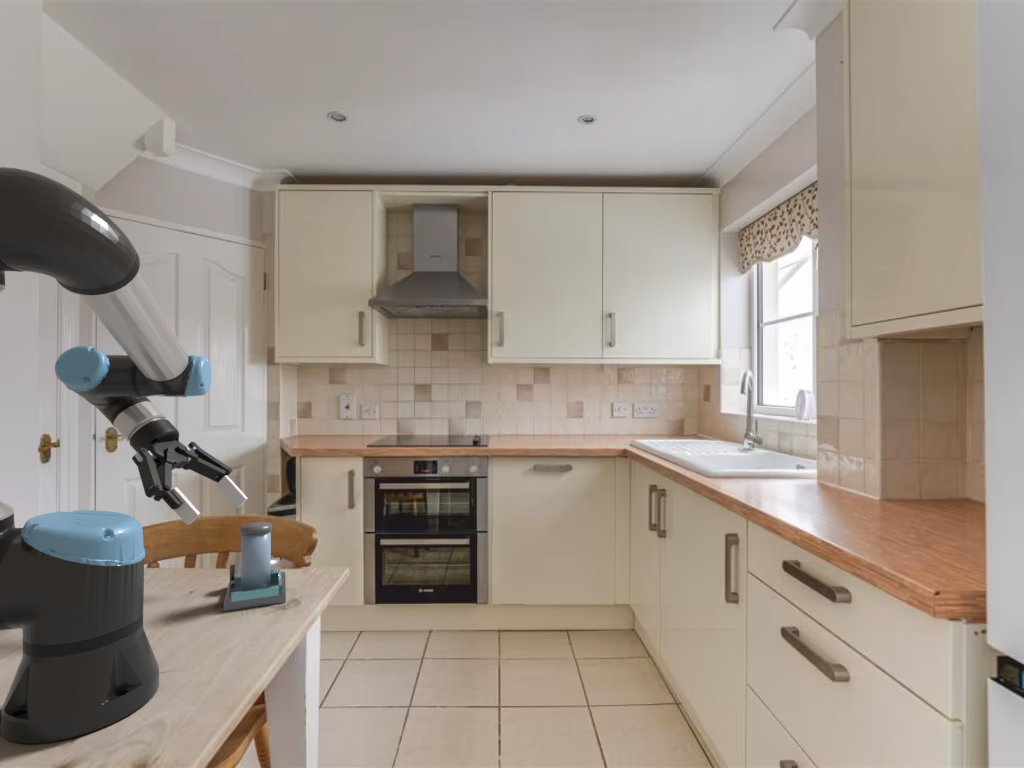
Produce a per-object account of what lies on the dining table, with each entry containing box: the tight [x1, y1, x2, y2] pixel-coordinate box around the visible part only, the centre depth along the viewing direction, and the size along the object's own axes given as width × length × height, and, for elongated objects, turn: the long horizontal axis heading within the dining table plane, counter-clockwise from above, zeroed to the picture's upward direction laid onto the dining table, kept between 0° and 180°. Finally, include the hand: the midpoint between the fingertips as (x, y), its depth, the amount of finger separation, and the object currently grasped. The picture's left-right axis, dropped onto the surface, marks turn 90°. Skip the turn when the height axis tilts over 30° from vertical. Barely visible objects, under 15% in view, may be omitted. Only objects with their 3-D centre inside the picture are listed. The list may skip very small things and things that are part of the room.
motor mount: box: [223, 557, 287, 612], centre depth 100 cm, size 13×10×5 cm
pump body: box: [239, 521, 273, 591], centre depth 98 cm, size 5×5×12 cm
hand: (220, 511), depth 99 cm, fingers open, 13 cm apart
